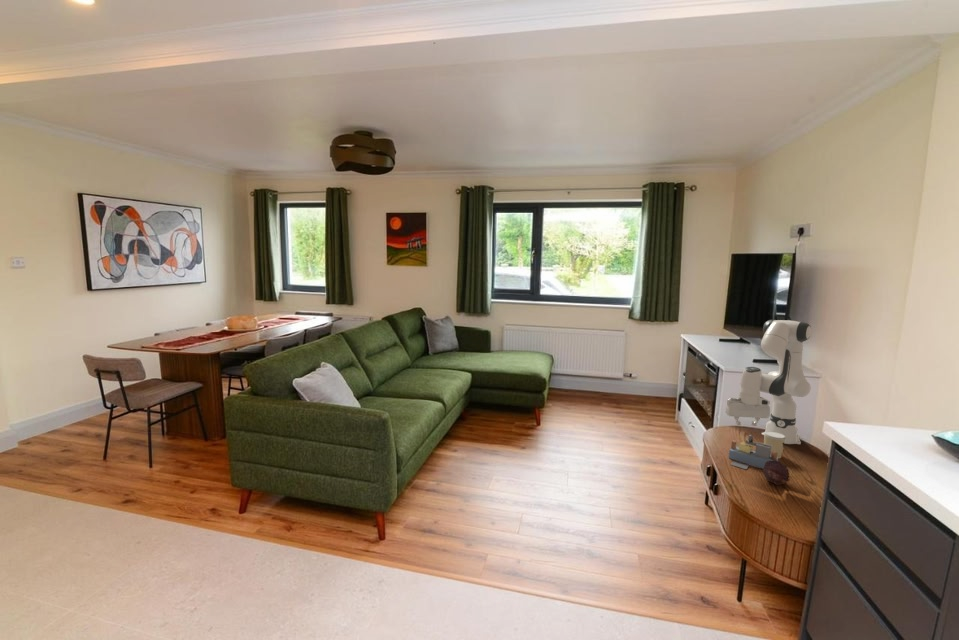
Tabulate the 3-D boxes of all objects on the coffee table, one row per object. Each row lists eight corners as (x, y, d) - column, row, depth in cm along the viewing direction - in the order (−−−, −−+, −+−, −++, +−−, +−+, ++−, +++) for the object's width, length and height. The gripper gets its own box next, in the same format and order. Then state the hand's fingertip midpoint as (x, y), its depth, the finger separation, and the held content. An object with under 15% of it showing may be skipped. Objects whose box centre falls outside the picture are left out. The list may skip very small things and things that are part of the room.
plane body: (732, 454, 226) (734, 435, 225) (777, 466, 212) (779, 446, 211) (728, 459, 220) (730, 439, 219) (774, 472, 207) (776, 451, 205)
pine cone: (757, 471, 207) (759, 452, 206) (781, 475, 203) (783, 455, 202) (767, 488, 190) (769, 467, 189) (793, 493, 187) (796, 471, 186)
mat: (733, 461, 217) (733, 460, 217) (749, 466, 213) (749, 465, 213) (730, 465, 213) (730, 464, 213) (746, 469, 208) (746, 469, 208)
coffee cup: (786, 460, 220) (789, 438, 218) (766, 458, 222) (769, 437, 220) (777, 453, 229) (780, 432, 228) (758, 451, 231) (761, 430, 229)
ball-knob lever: (746, 442, 218) (746, 434, 218) (764, 447, 213) (765, 438, 213) (745, 443, 217) (746, 435, 216) (763, 448, 212) (764, 439, 211)
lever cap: (741, 448, 222) (742, 441, 221) (752, 451, 218) (753, 444, 218) (738, 451, 218) (739, 443, 218) (749, 454, 215) (750, 446, 214)
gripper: (731, 399, 211) (728, 426, 213) (773, 402, 210) (770, 428, 211) (724, 396, 217) (721, 421, 219) (765, 398, 216) (762, 424, 218)
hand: (745, 425), depth 215 cm, fingers open, 7 cm apart
